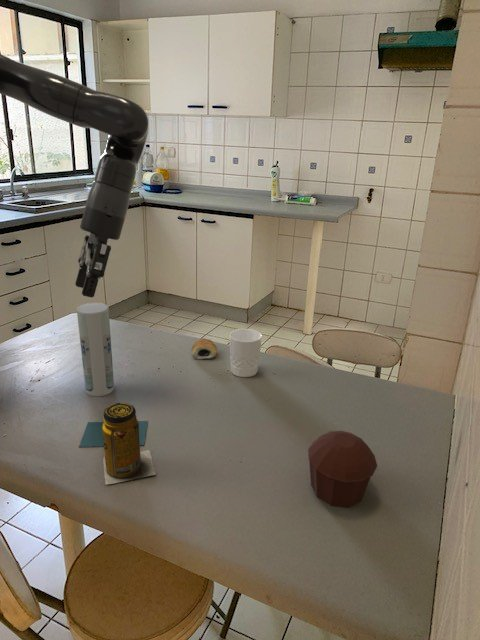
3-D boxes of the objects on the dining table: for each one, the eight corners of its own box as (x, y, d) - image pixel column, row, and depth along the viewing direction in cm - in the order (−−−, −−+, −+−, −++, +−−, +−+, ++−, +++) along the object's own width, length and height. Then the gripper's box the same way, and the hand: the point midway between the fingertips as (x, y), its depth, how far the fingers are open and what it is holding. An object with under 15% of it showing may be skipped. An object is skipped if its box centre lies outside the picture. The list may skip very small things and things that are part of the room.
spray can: (84, 384, 108) (76, 303, 100) (113, 380, 110) (107, 301, 102) (85, 398, 102) (76, 314, 95) (115, 394, 104) (109, 312, 97)
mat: (78, 447, 87) (78, 446, 87) (87, 422, 94) (87, 421, 94) (143, 445, 88) (143, 445, 88) (147, 421, 95) (147, 420, 95)
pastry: (192, 344, 130) (192, 332, 128) (216, 345, 130) (217, 332, 129) (191, 360, 121) (191, 347, 120) (217, 360, 122) (217, 347, 120)
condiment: (102, 458, 84) (97, 402, 80) (149, 450, 87) (147, 395, 82) (105, 486, 78) (100, 426, 73) (156, 476, 80) (153, 417, 76)
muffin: (304, 462, 85) (309, 416, 81) (365, 468, 84) (373, 422, 80) (305, 511, 74) (311, 460, 70) (376, 518, 73) (385, 467, 70)
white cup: (235, 361, 121) (237, 326, 118) (264, 367, 119) (266, 332, 115) (223, 374, 115) (224, 337, 111) (253, 381, 112) (255, 344, 108)
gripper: (80, 202, 93) (59, 280, 95) (92, 206, 80) (68, 294, 82) (116, 214, 96) (96, 288, 98) (134, 219, 84) (110, 304, 86)
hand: (83, 291), depth 90 cm, fingers open, 8 cm apart
